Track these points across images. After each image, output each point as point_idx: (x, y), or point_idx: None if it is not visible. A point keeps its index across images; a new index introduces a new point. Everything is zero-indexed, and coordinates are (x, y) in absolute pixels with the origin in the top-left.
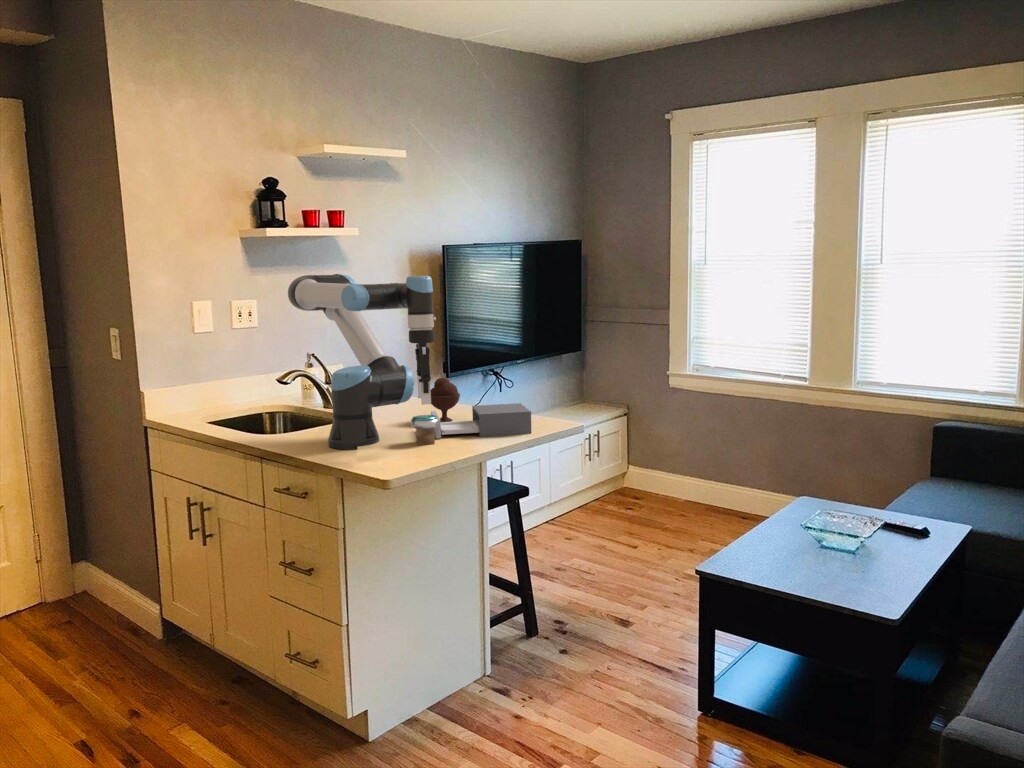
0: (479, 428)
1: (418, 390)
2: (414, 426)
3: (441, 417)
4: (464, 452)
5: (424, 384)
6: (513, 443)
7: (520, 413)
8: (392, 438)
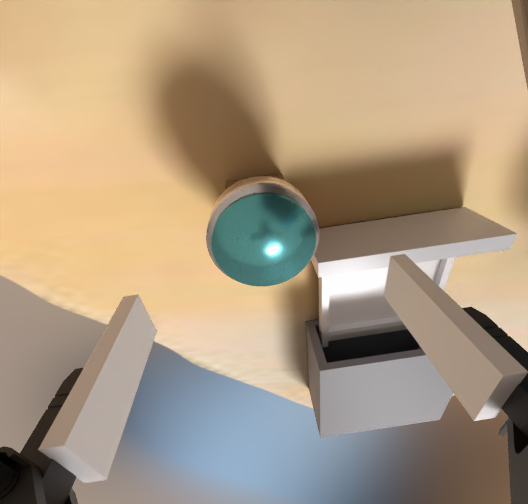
0: (321, 334)
1: (416, 287)
2: (223, 194)
3: None
4: None
5: (31, 447)
6: (224, 371)
7: (319, 423)
8: (369, 67)
